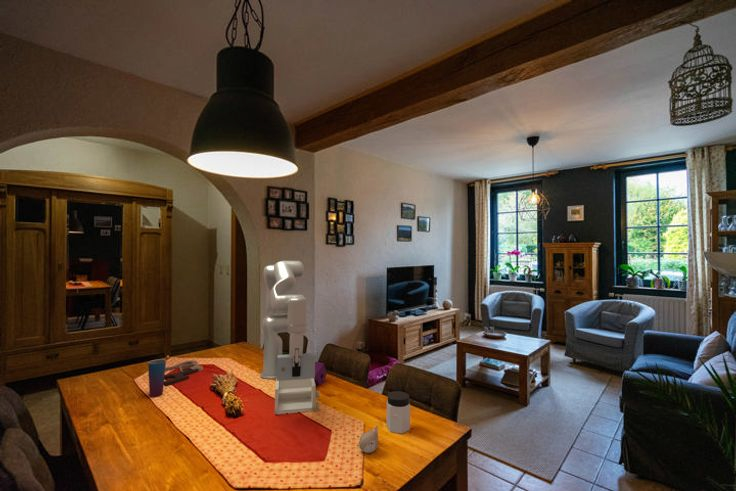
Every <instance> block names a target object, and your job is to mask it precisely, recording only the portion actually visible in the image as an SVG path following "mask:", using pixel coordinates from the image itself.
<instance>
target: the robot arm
mask: <svg viewBox="0 0 736 491" xmlns="http://www.w3.org/2000/svg"><path fill="white" fill-rule="evenodd" d="M304 276H305V266H304V264H303V262H302V261H300V260H281V261H277V262H276V263H275V264H270V265H269V264H268V265H266V266H265V267H264V268H263V278H264V282H265V285H266V301H265V303H266V304H265V305H266V311H267V312H268V313H271V315H270V314H269V315H266V316H265V317H264V318H263V319H262V330H263V364H262V365H263V368H262V370H263V371H261V372H260V373H259V376H260V378H262V379H265V380H266V379H267V380H271V379H272V380H273V379H274V380H276V379H277V356H278V355H283V339H282V338H281V337H280V335H279V334H280V333H288V334H289V343H288V344H289V346H288V348H289V351H288V352H289V359H290V360H291V359H293V366H292V377H299V376H300V371H301V366H300V359H301V358H302V354H304V352H303V350H304V349H303V348H304V334H306V333H307V327H308V325H307V320H308V317H307V316H308V301H307V298H306V297H305V295H303V294H287V293H288V292H290V291H292V290H294V288H295V287H296V285H297V281H299V280H300V279H302V278H303V277H304ZM294 357H295V358H294ZM298 357H299V358H298ZM294 360H295V361H294ZM298 360H299V361H298Z"/></svg>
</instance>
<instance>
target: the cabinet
mask: <svg viewBox="0 0 736 491" xmlns="http://www.w3.org/2000/svg"><path fill="white" fill-rule="evenodd" d="M320 395H321V391H320V390H317V388H316V384H315V381H314V378H312V379H298V380H283V381H277V378H275V389H274V415H276V414H277V415H286V413H288V414H297V413H298V412H300V413H308V412H307V411H311V412H317V410H320V407H321V406H320V404H321V403H320V402H319V401H317V399H320Z"/></svg>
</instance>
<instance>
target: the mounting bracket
mask: <svg viewBox="0 0 736 491" xmlns="http://www.w3.org/2000/svg"><path fill="white" fill-rule="evenodd" d="M326 377H327V369H326V366H325V363H324V362H318V361H315V378H314V381H315V385H318V386H319V385H320V386H321V385H322V384H324V382H326V379H327V378H326Z"/></svg>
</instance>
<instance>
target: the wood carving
mask: <svg viewBox="0 0 736 491" xmlns="http://www.w3.org/2000/svg"><path fill="white" fill-rule="evenodd" d="M178 367H179V368H178ZM189 367H190V368H189ZM176 368H177V369H178V370H179V372H174V373H173V372H172V373H169V374H165V376H164V386H163V387H169V386H173V385H175V384H177V383H181V382H184V381H187V380H190V375H193V374H196V373H198V372H201V371H203V370H204V369H203V368H204V367H203V366H202V365H199V363H198V361H197V360H186V361H183V362H180V363H179V362H178V363H177V364H175V365H171V366H167V367H166V366H165V372H168V370H169V371H174V370H177V369H176ZM182 368H184V369H182ZM173 369H174V370H173Z"/></svg>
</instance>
